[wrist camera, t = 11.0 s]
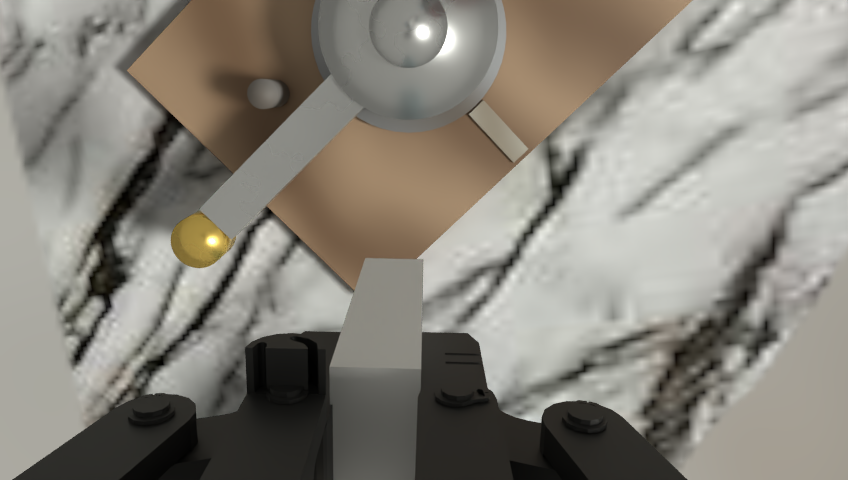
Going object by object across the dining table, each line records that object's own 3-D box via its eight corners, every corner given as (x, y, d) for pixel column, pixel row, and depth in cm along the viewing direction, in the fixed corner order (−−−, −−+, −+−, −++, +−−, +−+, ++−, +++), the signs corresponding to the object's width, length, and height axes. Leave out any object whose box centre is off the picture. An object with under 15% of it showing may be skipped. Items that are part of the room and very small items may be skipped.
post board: (456, -274, 28) (463, -333, 24) (683, 2, 30) (723, -11, 26) (137, 71, 31) (97, 68, 27) (369, 296, 33) (363, 324, 29)
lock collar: (524, 35, 29) (538, 29, 25) (254, 299, 31) (236, 323, 28) (410, -93, 27) (409, -116, 24) (138, 192, 30) (106, 204, 27)
